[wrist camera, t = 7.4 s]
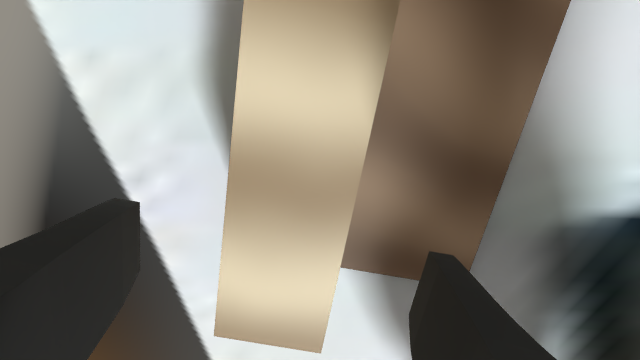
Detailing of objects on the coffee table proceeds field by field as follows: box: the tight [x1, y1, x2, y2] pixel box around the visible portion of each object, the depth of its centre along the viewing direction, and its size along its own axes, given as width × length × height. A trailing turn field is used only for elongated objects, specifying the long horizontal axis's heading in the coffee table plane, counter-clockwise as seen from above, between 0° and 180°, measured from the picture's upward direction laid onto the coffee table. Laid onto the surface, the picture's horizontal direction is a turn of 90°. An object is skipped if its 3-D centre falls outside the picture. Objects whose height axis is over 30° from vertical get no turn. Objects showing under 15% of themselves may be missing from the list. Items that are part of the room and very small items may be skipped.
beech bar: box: [214, 0, 401, 353], centre depth 17 cm, size 13×4×4 cm, turn 171°
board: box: [340, 0, 571, 281], centre depth 21 cm, size 14×11×1 cm
